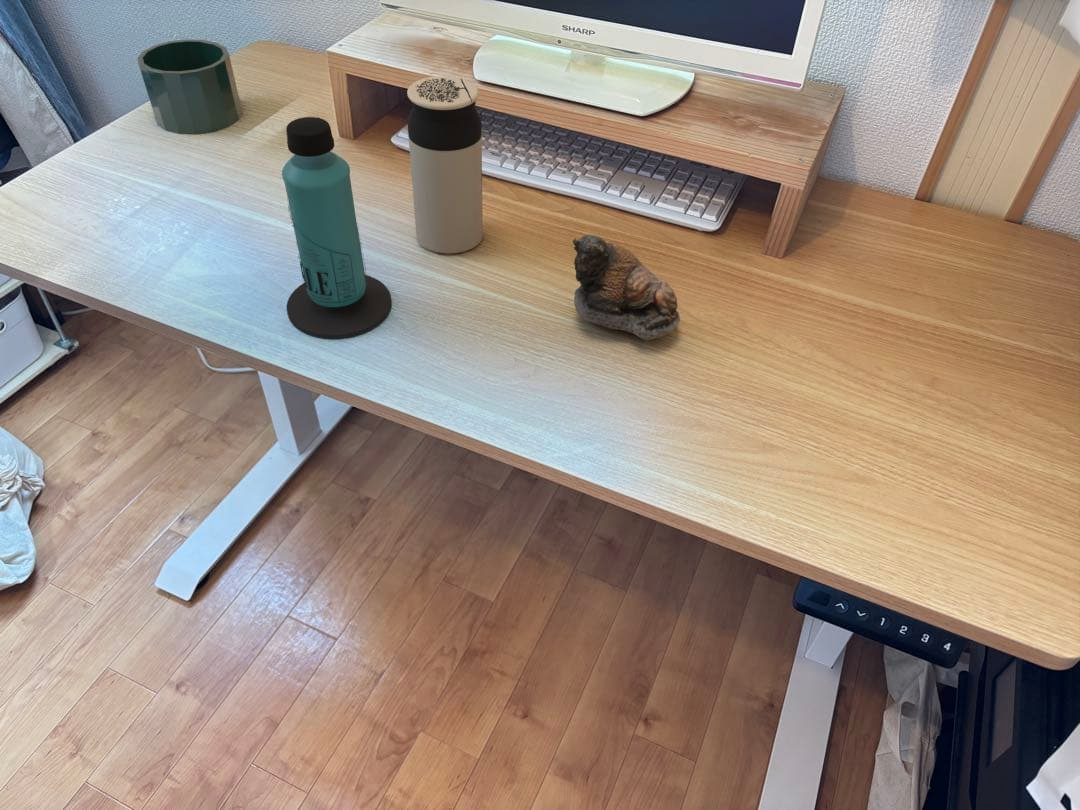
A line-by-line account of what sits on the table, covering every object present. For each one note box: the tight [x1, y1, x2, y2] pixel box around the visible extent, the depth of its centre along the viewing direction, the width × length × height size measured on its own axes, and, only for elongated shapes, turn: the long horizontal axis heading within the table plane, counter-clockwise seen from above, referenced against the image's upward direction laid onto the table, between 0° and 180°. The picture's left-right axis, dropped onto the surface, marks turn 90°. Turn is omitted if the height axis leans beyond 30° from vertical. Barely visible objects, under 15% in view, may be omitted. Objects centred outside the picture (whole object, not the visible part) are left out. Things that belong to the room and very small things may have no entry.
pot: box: [136, 38, 243, 135], centre depth 109 cm, size 11×11×10 cm
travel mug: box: [406, 75, 484, 254], centre depth 89 cm, size 8×8×18 cm
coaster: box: [286, 274, 393, 340], centre depth 85 cm, size 11×11×1 cm
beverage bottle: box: [281, 116, 367, 307], centre depth 78 cm, size 6×7×20 cm
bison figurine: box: [572, 234, 681, 341], centre depth 81 cm, size 12×7×10 cm, turn 75°
